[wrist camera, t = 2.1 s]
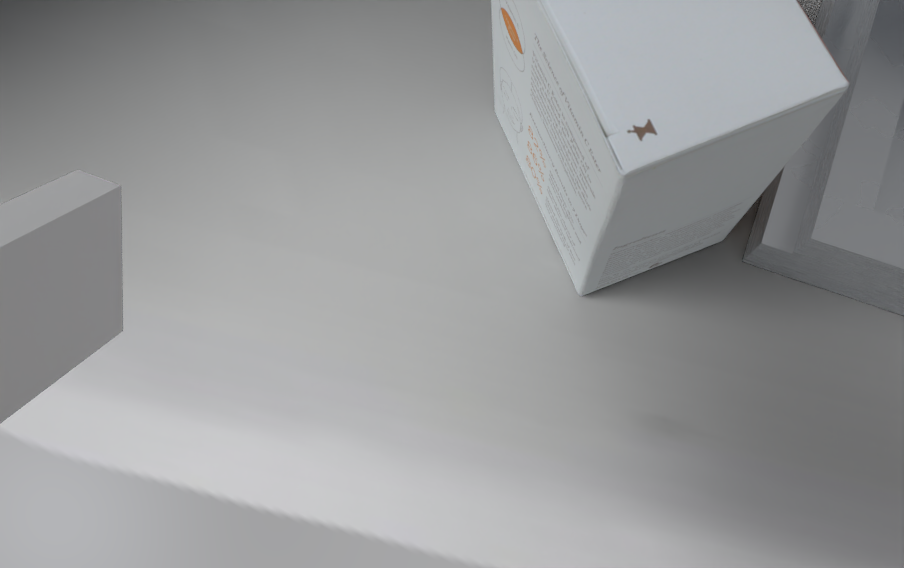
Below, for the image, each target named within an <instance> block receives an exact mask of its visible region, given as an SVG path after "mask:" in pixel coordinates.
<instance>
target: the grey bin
mask: <svg viewBox="0 0 904 568" xmlns="http://www.w3.org/2000/svg"><path fill="white" fill-rule="evenodd" d="M814 27H815V29H816V30H817V32H818V34H819V35H820V37H821V38H822V40H823V42H824V43H825V45H826V47H827V48H828V50H829V51H830V53H831V55H832V56H833V58H834V59H835V61H836V63H837V64H838V66H839V67H840V69H841V71H842V72H843V74H844V75H845V77H846V78H847V80H848V81H849V87H848V89H847V90H846V91H845V93H844V94H843V95H842V97H841V98H840V99H839V100H838V102H837V103H836V104H835V105H834V106H833V108H832V109H831V110H830V111H829V113H828V114H827V115H826V116H825V117H824V119H823V120H822V121H821V122H820V124H819V125H818V126H817V127H816V129H815V130H814V131H813V132H812V134H811V135H810V136H809V137H808V139H807V140H806V141H805V142H804V143H803V145H802V146H801V147H800V148H799V149H798V150H797V151H796V153H795V154H794V155H793V156H792V158H791V159H790V160H789V161H788V162H787V164H786V165H785V166H784V167H783V168H782V170H781V171H780V172H779V173H778V175H777V176H776V177H775V178H774V179H773V181H772V182H771V183H770V184H769V186H768V187H767V188H766V189H765V190H764V192H763V195H762V198H761V201H760V204H759V208H758V211H757V214H756V217H755V221H754V224H753V227H752V230H751V234H750V237H749V240H748V243H747V247H746V250H745V253H744V256H743V260H742V262H745V263H748V264H751V265H754V266H757V267H760V268H763V269H766V270H769V271H772V272H775V273H778V274H781V275H784V276H787V277H790V278H793V279H796V280H799V281H802V282H805V283H808V284H811V285H814V286H816V287H819V288H822V289H825V290H828V291H831V292H834V293H837V294H840V295H843V296H846V297H849V298H852V299H855V300H858V301H861V302H864V303H867V304H870V305H873V306H876V307H879V308H882V309H885V310H888V311H891V312H894V313H897V314H900V315H903V316H904V0H822V4H821V7H820V10H819V13H818V17H817V20H816V23H815V26H814Z"/></svg>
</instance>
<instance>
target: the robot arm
mask: <svg viewBox="0 0 904 568" xmlns="http://www.w3.org/2000/svg"><path fill="white" fill-rule="evenodd" d="M122 331H123V289H122V210H121V185H119V184H116V183H113V182H111V181H108V180H105V179H102V178H100V177H97V176H94V175H92V174H89V173H86V172H83V171H81V170H75V171H73V172H71V173H69V174H66V175H64V176H62V177H60V178H58V179H55V180H53V181H51V182H49V183H47V184H44V185H42V186H40V187H38V188H36V189H33V190H31V191H29V192H27V193H24V194H22V195H20V196H18V197H16V198H13V199H11V200H9V201H7V202H5V203H2V204H0V423H2V422H3V421H4V420H6V419H7V418H8V417H10V416H11V415H12V414H14V413H15V412H16V411H17V410H19V409H20V408H21V407H23V406H24V405H25V404H27V403H28V402H29V401H31V400H32V399H33V398H35V397H36V396H37V395H39V394H40V393H41V392H43V391H44V390H45V389H47V388H48V387H49V386H51V385H52V384H53V383H55V382H56V381H57V380H58V379H60V378H61V377H62V376H64V375H65V374H66V373H68V372H69V371H70V370H72V369H73V368H74V367H76V366H77V365H78V364H80V363H81V362H82V361H84V360H85V359H86V358H88V357H89V356H90V355H92V354H93V353H94V352H96V351H97V350H98V349H100V348H101V347H102V346H103V345H105V344H106V343H107V342H109V341H110V340H111V339H113V338H114V337H115V336H117V335H118V334H119V333H121V332H122Z"/></svg>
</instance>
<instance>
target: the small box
mask: <svg viewBox="0 0 904 568" xmlns="http://www.w3.org/2000/svg"><path fill="white" fill-rule="evenodd" d="M491 15H492V43H493V75H494V104H495V107H494V110H495V114H496V116H497V118H498V120H499V122H500V124H501V126H502V128H503V130H504V133H505V135H506V137H507V139H508V141H509V143H510V145H511V148H512V150H513V152H514V154H515V157H516V159H517V161H518V163H519V165H520V167H521V170H522V172H523V174H524V176H525V178H526V181H527V183H528V185H529V187H530V189H531V191H532V193H533V196H534V198H535V200H536V202H537V205H538V207H539V209H540V211H541V213H542V216H543V218H544V220H545V222H546V224H547V227H548V229H549V231H550V233H551V235H552V237H553V239H554V242H555V244H556V246H557V248H558V250H559V253H560V255H561V257H562V259H563V261H564V264H565V266H566V268H567V270H568V272H569V275H570V277H571V279H572V281H573V284H574V286H575V289H576V291H577V293H578V294H579V296H584V295H586V294H589V293H591V292H593V291H596V290H598V289H601V288H604V287H606V286H609V285H611V284H614V283H617V282H619V281H622V280H624V279H627V278H629V277H632V276H634V275H637V274H639V273H642V272H645V271H647V270H650V269H652V268H655V267H657V266H660V265H663V264H665V263H668V262H670V261H673V260H675V259H678V258H680V257H683V256H685V255H688V254H690V253H693V252H696V251H698V250H701V249H703V248H706V247H708V246H711V245H713V244H716V243H719V242H721V241H723V240H724V239H725V238H726V236H727V235H728V234H729V232H730V231H731V230H732V229H733V228H734V227H735V225H736V224H737V223H738V222H739V221H740V219H741V218H742V217H743V216H744V215H745V213H746V212H747V211H748V210H749V209H750V207H751V206H752V205H753V204H754V202H755V201H756V200H757V199H758V198H759V196H760V195H761V194H762V193H763V192H764V190H765V189H766V188H767V187H768V186H769V184H770V183H771V182H772V181H773V179H774V178H775V177H776V176H777V175H778V173H779V172H780V171H781V170H782V168H783V167H784V166H785V165H786V164H787V162H788V161H789V160H790V159H791V158H792V156H793V155H794V154H795V153H796V151H797V150H798V149H799V148H800V147H801V146H802V145H803V143H804V142H805V141H806V140H807V139H808V137H809V136H810V135H811V134H812V132H813V131H814V130H815V129H816V127H817V126H818V125H819V124H820V122H821V121H822V120H823V119H824V117H825V116H826V115H827V114H828V113H829V111H830V110H831V109H832V108H833V106H834V105H835V104H836V103H837V102H838V100H839V99H840V98H841V97H842V95H843V94H844V93H845V91H846V90H847V89H848V87H849V81H848V80H847V78H846V77H845V75H844V74H843V72H842V71H841V69H840V67H839V66H838V64H837V63H836V61H835V59H834V58H833V56H832V55H831V53H830V51H829V50H828V48H827V47H826V45H825V43H824V42H823V40H822V38H821V37H820V35H819V34H818V32H817V30H816V29H815V27H814V25H813V24H812V22H811V20H810V19H809V17H808V16H807V14H806V13H805V11H804V10H803V8H802V7H801V5H800V3H799V2H798V0H491Z"/></svg>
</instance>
